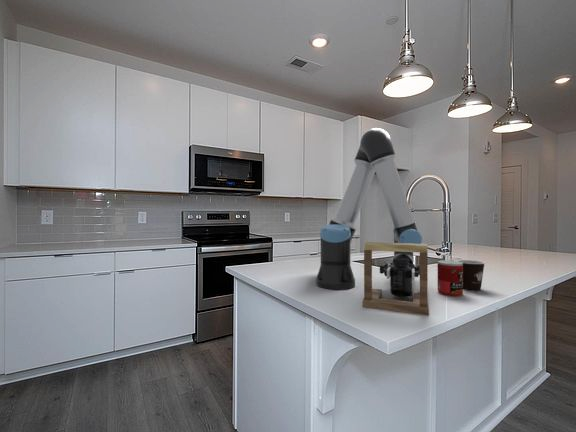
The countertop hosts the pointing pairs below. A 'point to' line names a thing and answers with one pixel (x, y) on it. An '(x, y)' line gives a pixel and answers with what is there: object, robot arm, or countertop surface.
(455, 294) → the canned food
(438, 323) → the countertop surface
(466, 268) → the coffee mug
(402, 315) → the countertop surface
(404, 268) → the supplement bottle
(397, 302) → the notched shelf
